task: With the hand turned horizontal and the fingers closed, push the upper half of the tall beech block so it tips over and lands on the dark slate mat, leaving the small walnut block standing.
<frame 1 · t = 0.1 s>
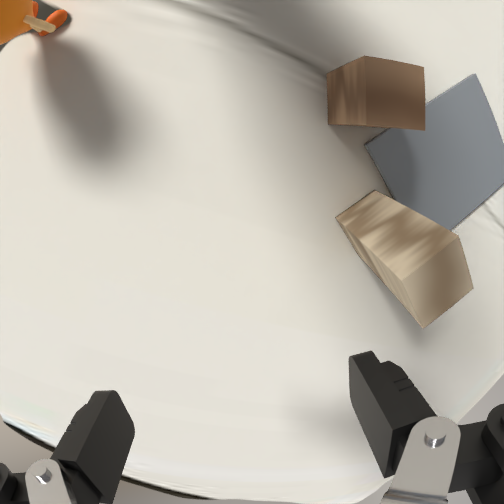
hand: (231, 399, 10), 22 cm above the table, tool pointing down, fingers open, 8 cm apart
walnut block: (352, 100, 27), on the table
beech block: (366, 222, 32), on the table
slate mat: (451, 159, 29), on the table
toy figure: (37, 30, 21), on the table
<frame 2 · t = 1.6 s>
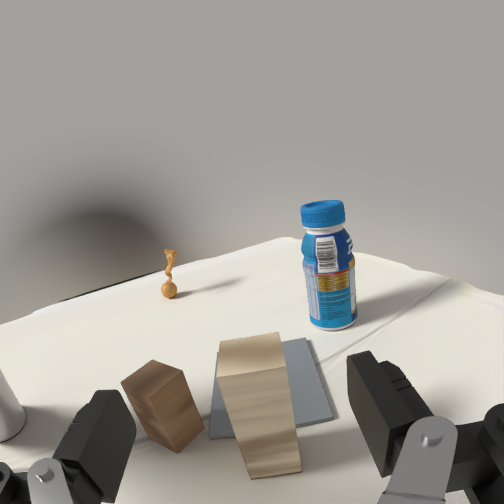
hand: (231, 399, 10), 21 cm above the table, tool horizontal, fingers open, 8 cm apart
beverage bottle: (333, 320, 53), on the table
walnut block: (176, 433, 33), on the table
beech block: (274, 458, 28), on the table
slate mat: (265, 384, 40), on the table
figurine: (175, 296, 77), on the table
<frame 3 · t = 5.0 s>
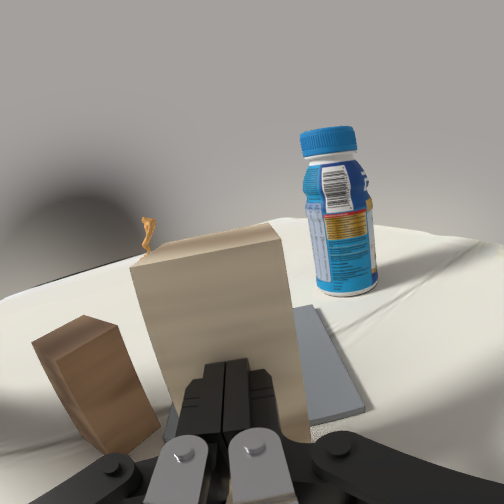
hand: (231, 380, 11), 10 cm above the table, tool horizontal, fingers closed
beverage bottle: (347, 286, 41), on the table
walnut block: (119, 432, 20), on the table
beech block: (268, 477, 15), on the table, touching gripper
slate mat: (257, 364, 28), on the table
figurine: (154, 274, 65), on the table
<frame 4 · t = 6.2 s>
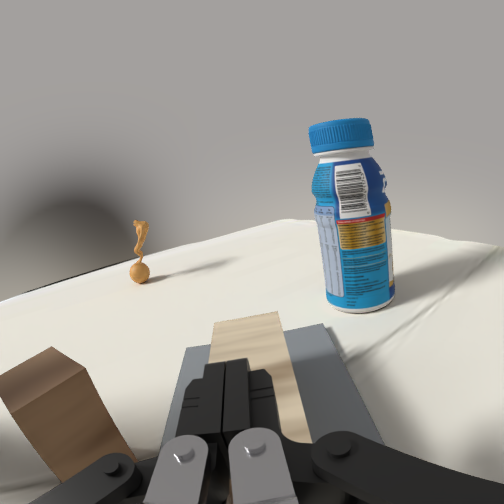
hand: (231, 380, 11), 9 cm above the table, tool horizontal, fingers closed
beverage bottle: (361, 300, 36), on the table
walnut block: (100, 478, 15), on the table
beech block: (263, 488, 12), point 3 cm above the table, tilted 90°, touching slate mat
slate mat: (260, 399, 23), on the table
figurine: (147, 282, 60), on the table
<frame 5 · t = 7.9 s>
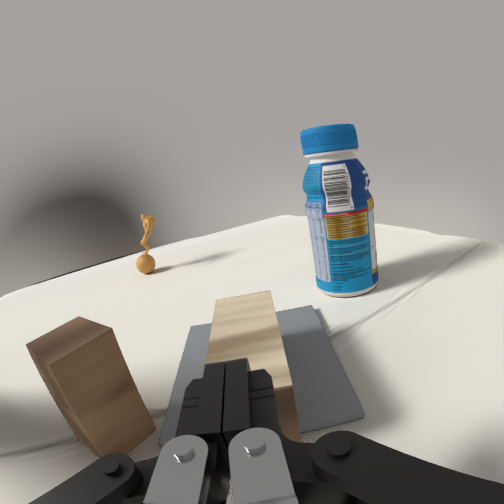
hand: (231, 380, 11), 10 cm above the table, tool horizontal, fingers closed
beverage bottle: (348, 286, 40), on the table
walnut block: (115, 434, 20), on the table
beech block: (253, 426, 16), point 3 cm above the table, tilted 90°, touching slate mat
slate mat: (255, 366, 27), on the table
figurine: (153, 272, 64), on the table
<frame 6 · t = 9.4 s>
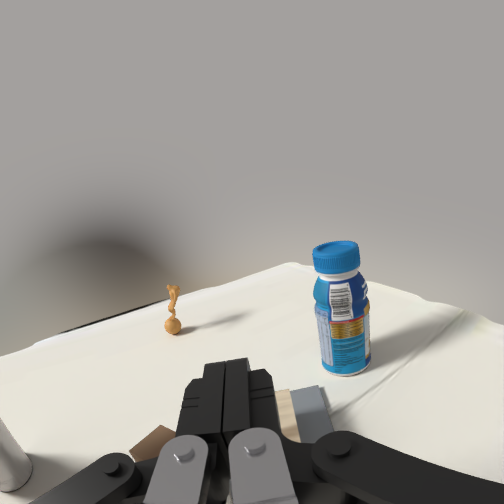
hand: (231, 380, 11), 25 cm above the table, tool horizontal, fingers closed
beverage bottle: (346, 364, 49), on the table
walnut block: (188, 492, 29), on the table
beech block: (284, 489, 25), point 3 cm above the table, tilted 90°, touching slate mat
slate mat: (278, 438, 36), on the table
figurine: (179, 332, 73), on the table
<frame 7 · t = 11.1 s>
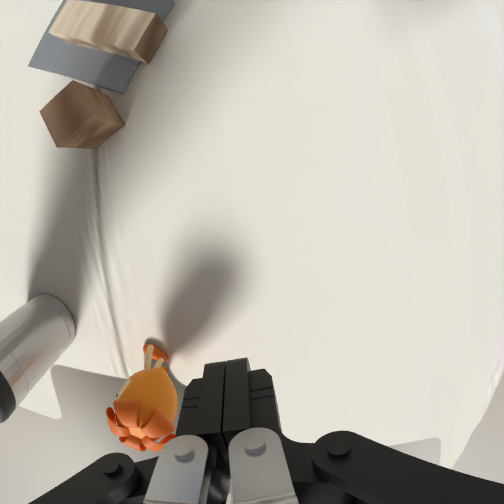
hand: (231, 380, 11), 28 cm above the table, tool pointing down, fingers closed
walnut block: (101, 121, 34), on the table
beech block: (152, 39, 29), point 3 cm above the table, tilted 90°, touching slate mat
slate mat: (94, 32, 31), on the table
toy figure: (165, 363, 43), on the table
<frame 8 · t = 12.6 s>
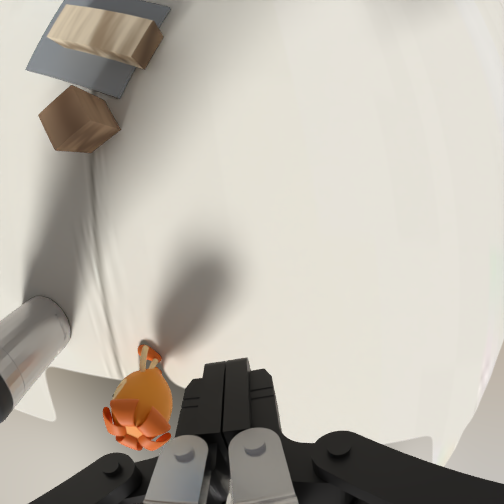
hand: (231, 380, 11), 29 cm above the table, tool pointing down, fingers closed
walnut block: (97, 126, 35), on the table
beech block: (148, 45, 30), point 3 cm above the table, tilted 90°, touching slate mat
slate mat: (91, 37, 31), on the table
toy figure: (159, 364, 43), on the table
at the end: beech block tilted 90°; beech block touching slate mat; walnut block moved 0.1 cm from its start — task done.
